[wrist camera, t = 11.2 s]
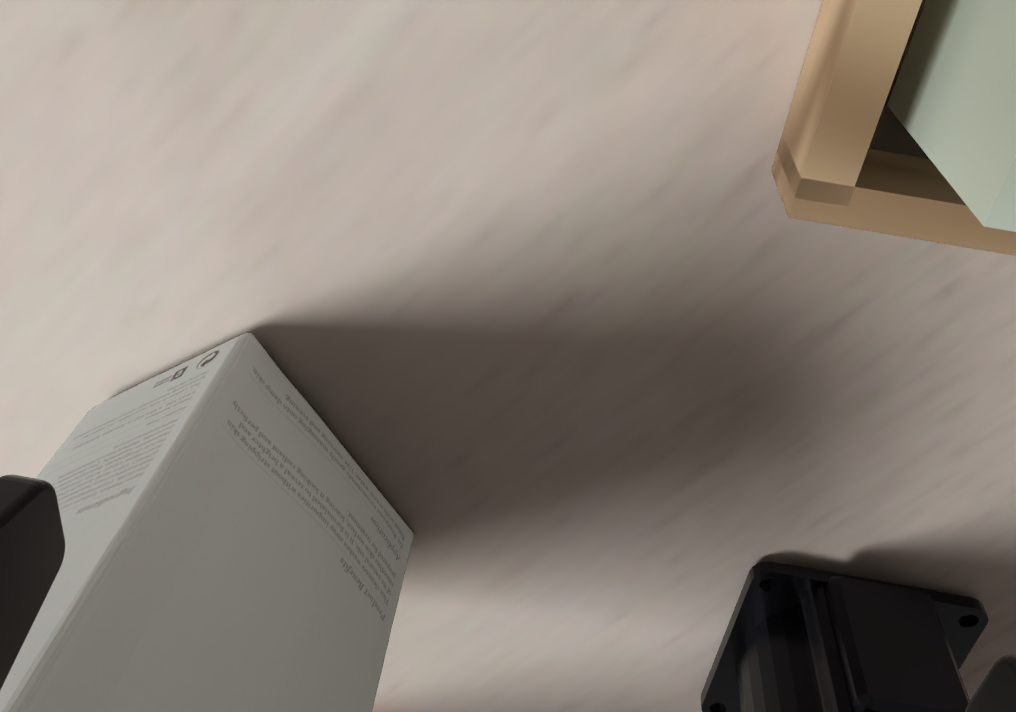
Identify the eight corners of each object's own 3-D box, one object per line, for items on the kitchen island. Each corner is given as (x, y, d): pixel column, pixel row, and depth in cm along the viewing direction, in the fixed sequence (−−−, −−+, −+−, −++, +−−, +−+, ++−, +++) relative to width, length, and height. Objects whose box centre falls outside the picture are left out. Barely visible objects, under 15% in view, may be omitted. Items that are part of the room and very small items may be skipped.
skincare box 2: (96, 399, 25) (-442, 1012, 13) (264, 316, 23) (-181, 954, 10) (277, 597, 28) (-3, 1231, 16) (437, 542, 26) (259, 1223, 14)
